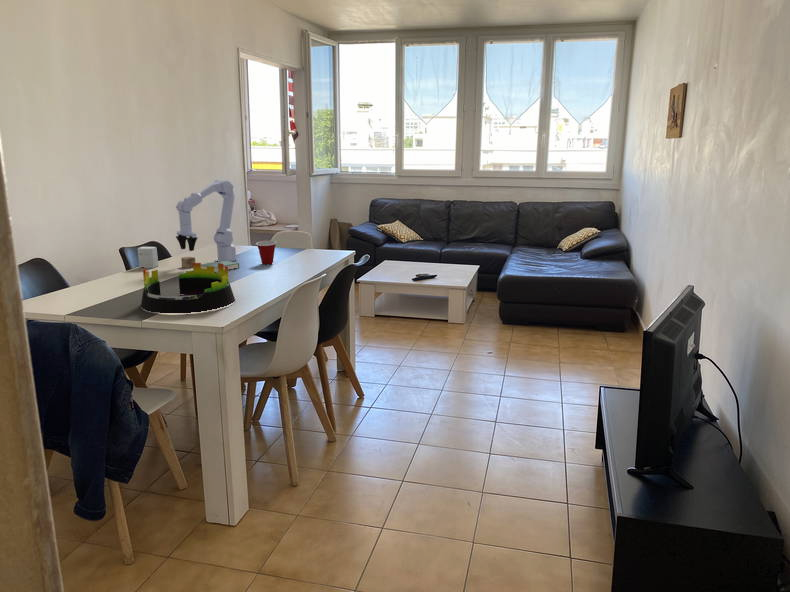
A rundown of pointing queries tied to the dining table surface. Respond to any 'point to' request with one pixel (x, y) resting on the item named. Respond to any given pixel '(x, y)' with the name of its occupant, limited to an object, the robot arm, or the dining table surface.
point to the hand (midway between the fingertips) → (187, 249)
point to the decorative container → (189, 291)
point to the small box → (147, 257)
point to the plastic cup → (266, 251)
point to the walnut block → (188, 261)
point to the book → (226, 263)
